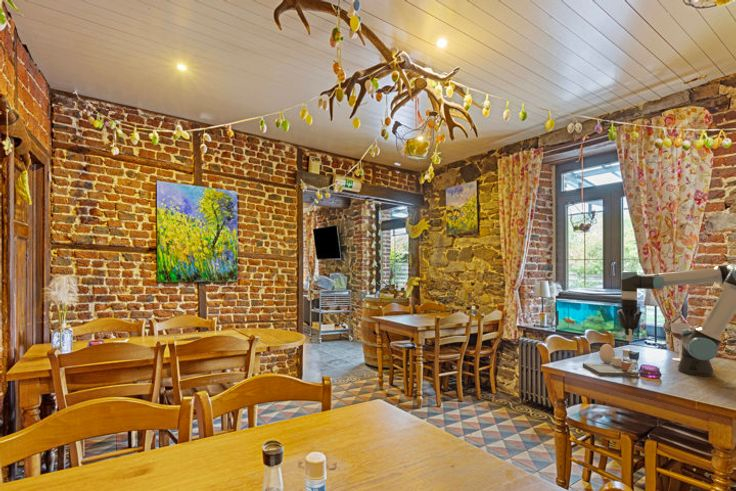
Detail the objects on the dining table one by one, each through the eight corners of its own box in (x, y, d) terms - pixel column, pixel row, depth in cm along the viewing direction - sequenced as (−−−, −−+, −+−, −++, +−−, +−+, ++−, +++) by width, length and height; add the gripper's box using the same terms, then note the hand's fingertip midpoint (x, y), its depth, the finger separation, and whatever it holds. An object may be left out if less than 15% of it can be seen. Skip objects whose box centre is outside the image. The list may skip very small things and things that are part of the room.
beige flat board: (618, 367, 225) (618, 363, 225) (638, 377, 207) (638, 373, 208) (582, 366, 226) (582, 362, 226) (599, 376, 208) (599, 372, 208)
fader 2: (627, 368, 214) (627, 361, 214) (631, 371, 210) (631, 363, 210) (621, 368, 214) (621, 361, 214) (625, 370, 210) (625, 363, 210)
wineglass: (693, 361, 240) (693, 325, 240) (677, 361, 240) (677, 325, 240) (682, 357, 248) (682, 322, 249) (667, 357, 248) (666, 322, 249)
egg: (598, 361, 239) (598, 342, 239) (613, 362, 236) (613, 343, 236) (600, 364, 231) (600, 344, 232) (616, 366, 228) (616, 346, 229)
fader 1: (617, 364, 223) (617, 356, 223) (621, 366, 219) (621, 358, 219) (612, 364, 223) (612, 356, 223) (616, 366, 219) (616, 358, 219)
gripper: (636, 298, 225) (637, 339, 225) (613, 297, 226) (613, 339, 225) (645, 299, 218) (645, 342, 217) (621, 299, 218) (621, 342, 218)
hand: (629, 340), depth 221 cm, fingers closed
